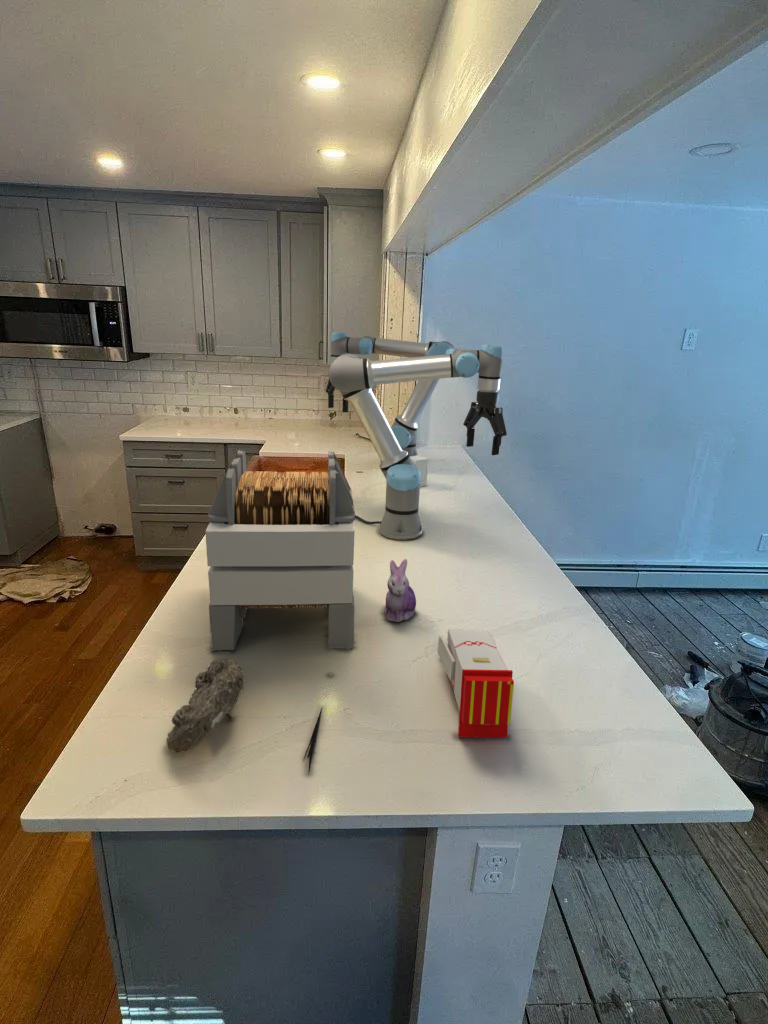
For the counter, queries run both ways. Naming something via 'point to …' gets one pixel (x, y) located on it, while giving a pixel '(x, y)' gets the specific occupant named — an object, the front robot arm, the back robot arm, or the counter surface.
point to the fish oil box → (421, 468)
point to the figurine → (399, 594)
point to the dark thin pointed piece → (313, 740)
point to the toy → (478, 682)
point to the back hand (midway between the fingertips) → (337, 410)
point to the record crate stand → (281, 548)
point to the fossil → (206, 705)
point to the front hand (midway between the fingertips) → (482, 450)
